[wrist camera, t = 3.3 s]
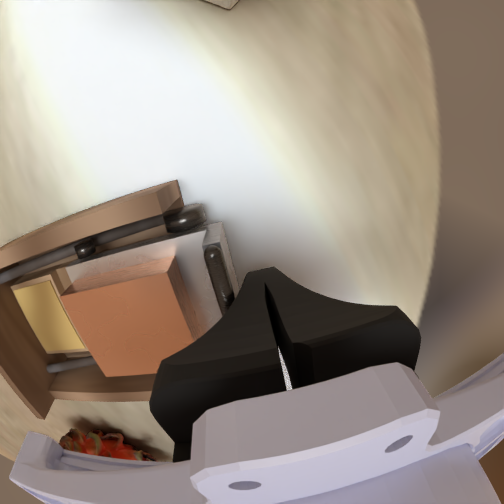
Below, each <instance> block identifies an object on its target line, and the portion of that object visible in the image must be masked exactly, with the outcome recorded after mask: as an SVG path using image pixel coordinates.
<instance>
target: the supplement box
mask: <svg viewBox="0 0 504 504" xmlns="http://www.w3.org/2000/svg"><path fill="white" fill-rule="evenodd" d="M205 1H208V2H211V3H214V4H216V5H219V6H221V7H224V8H226V9H231V8H232V7H233V6H234V5H235V4H236V3H237V2H238V1H239V0H205Z"/></svg>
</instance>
